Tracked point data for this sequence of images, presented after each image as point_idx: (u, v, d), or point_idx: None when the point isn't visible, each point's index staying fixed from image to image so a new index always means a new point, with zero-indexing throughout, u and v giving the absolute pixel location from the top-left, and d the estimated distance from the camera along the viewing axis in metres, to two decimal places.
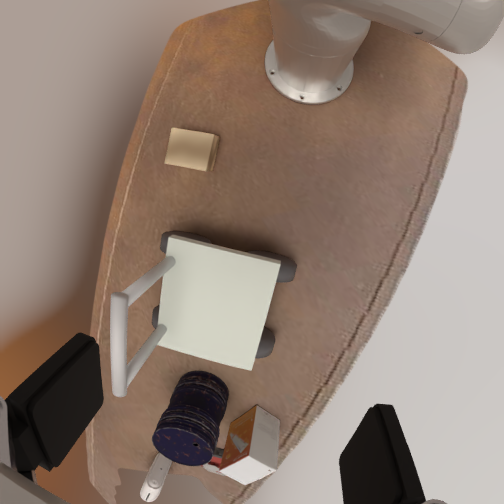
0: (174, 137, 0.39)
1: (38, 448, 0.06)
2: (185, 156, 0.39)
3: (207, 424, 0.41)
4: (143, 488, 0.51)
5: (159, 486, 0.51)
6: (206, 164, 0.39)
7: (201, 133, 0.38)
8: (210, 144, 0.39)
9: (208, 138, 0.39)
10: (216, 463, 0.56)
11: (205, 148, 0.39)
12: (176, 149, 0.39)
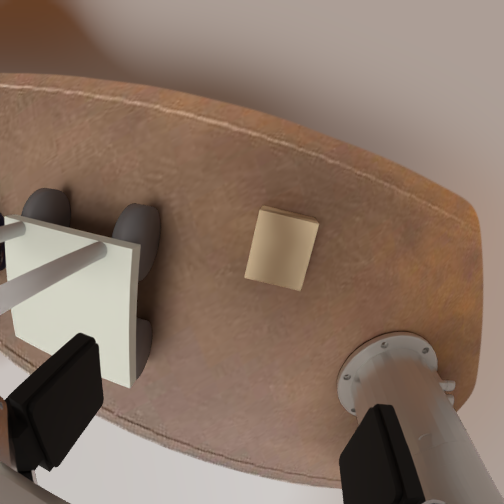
0: (301, 228, 0.25)
1: (38, 448, 0.06)
2: (268, 246, 0.26)
3: None
4: None
5: None
6: (254, 278, 0.27)
7: (303, 272, 0.26)
8: (285, 285, 0.27)
9: (295, 282, 0.27)
10: None
11: (279, 277, 0.27)
12: (281, 231, 0.26)
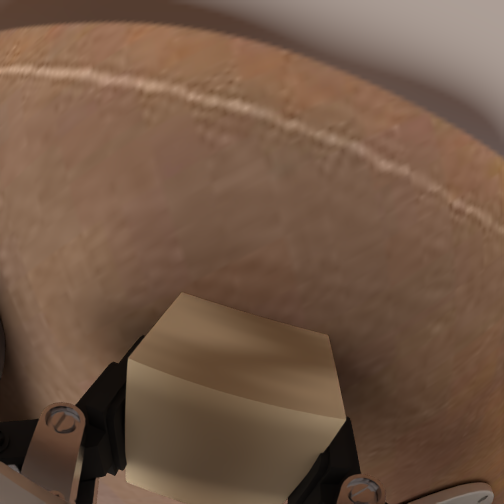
0: (282, 429, 0.06)
1: (110, 453, 0.07)
2: (171, 451, 0.07)
3: None
4: None
5: None
6: (150, 489, 0.08)
7: (277, 502, 0.07)
8: None
9: None
10: None
11: (212, 502, 0.07)
12: (209, 428, 0.06)
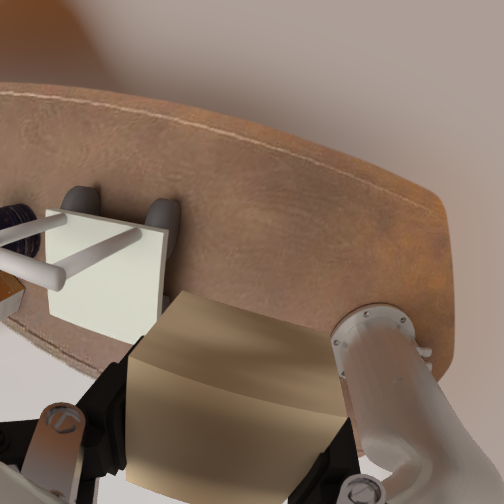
0: (283, 427, 0.06)
1: (110, 453, 0.07)
2: (172, 450, 0.07)
3: None
4: None
5: None
6: (150, 488, 0.08)
7: (278, 501, 0.07)
8: None
9: None
10: None
11: (212, 501, 0.07)
12: (210, 427, 0.06)
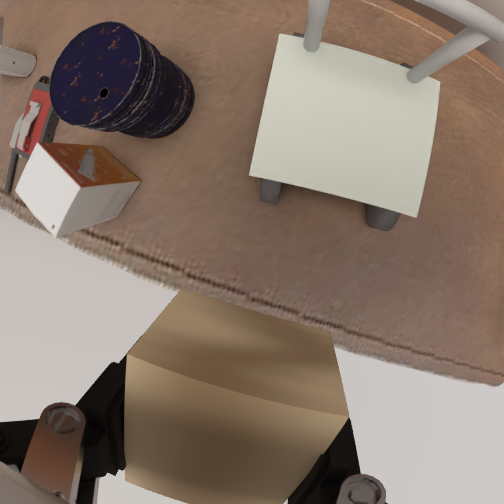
0: (284, 426, 0.06)
1: (110, 453, 0.07)
2: (171, 450, 0.07)
3: (139, 109, 0.23)
4: None
5: None
6: (150, 488, 0.08)
7: (279, 501, 0.07)
8: None
9: None
10: (31, 134, 0.34)
11: (212, 501, 0.07)
12: (209, 426, 0.06)
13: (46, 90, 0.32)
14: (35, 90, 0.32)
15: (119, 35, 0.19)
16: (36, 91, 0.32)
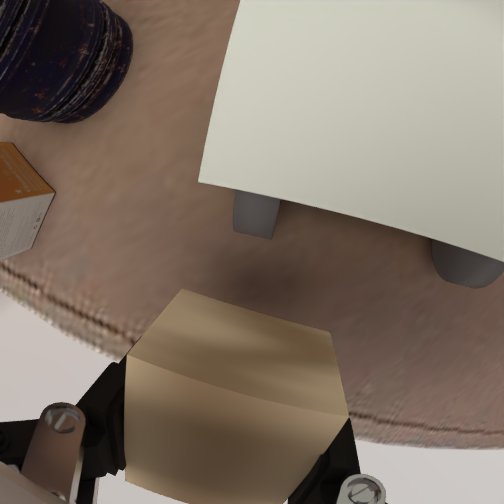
0: (283, 426, 0.06)
1: (110, 453, 0.07)
2: (171, 450, 0.07)
3: None
4: None
5: None
6: (150, 488, 0.08)
7: (278, 501, 0.07)
8: None
9: None
10: None
11: (212, 501, 0.07)
12: (209, 426, 0.06)
13: None
14: None
15: None
16: None
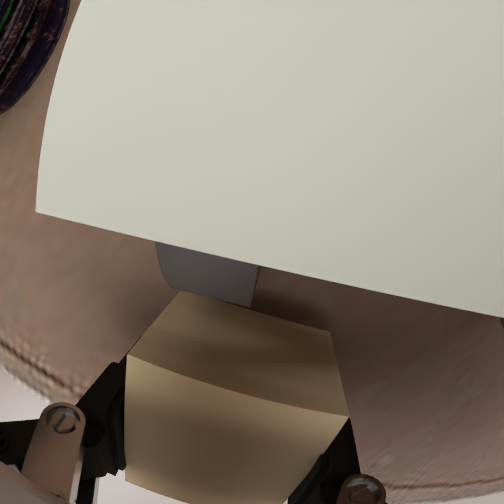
0: (284, 426, 0.06)
1: (110, 453, 0.07)
2: (171, 450, 0.07)
3: None
4: None
5: None
6: (150, 488, 0.08)
7: (279, 501, 0.07)
8: None
9: None
10: None
11: (212, 501, 0.07)
12: (209, 426, 0.06)
13: None
14: None
15: None
16: None
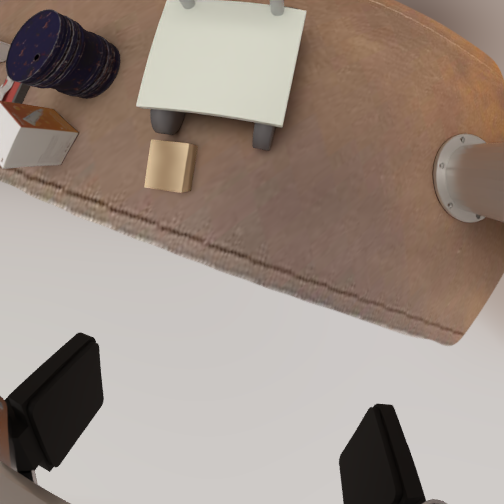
0: (178, 147, 0.35)
1: (38, 448, 0.06)
2: (157, 163, 0.36)
3: (62, 67, 0.26)
4: None
5: None
6: (150, 187, 0.37)
7: (182, 178, 0.36)
8: (170, 189, 0.36)
9: (177, 187, 0.36)
10: None
11: (166, 184, 0.36)
12: (165, 152, 0.35)
13: None
14: None
15: (50, 18, 0.21)
16: None
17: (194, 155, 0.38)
